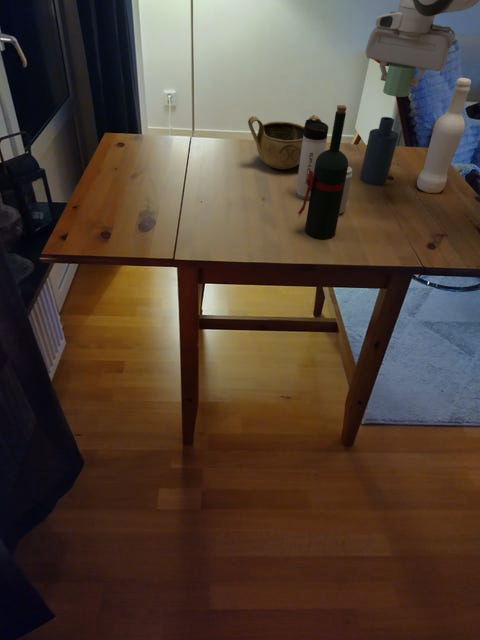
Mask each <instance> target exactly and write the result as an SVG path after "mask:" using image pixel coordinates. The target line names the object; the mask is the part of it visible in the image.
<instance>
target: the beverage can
mask: <svg viewBox="0 0 480 640" xmlns="http://www.w3.org/2000/svg"><path fill="white" fill-rule="evenodd" d="M352 178H353V168H352V167H350V166H349V165H348V170H347V175H346V180H345V186H344V191H343V196H342V201H341V206H340V211H339V215H340V214H341V215H342V214H343V213H344V212H345V211H346V206H347V202H348V197H349V192H350V188H351V183H352Z"/></svg>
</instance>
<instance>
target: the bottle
mask: <svg viewBox="0 0 480 640" xmlns="http://www.w3.org/2000/svg"><path fill="white" fill-rule="evenodd" d="M471 85H472V80H471V79H470V78H466V77H459V78H458V79H457V80H456V85H455V86H454V91H453V93H452V96H451V99H450V102H449V105H448V108H447V111H446V112H445V113H443V114H442V115H440V117H439V118H438V119H437V120H436V122H435V124H434V126H433V129H432V132H431V137H430V140H429V145H428V149H427V153H426V158H425V162H424V165H423V167H422V169H421V170H420V172H419V173H418V175H417V178H416V179H417V180H416V187H417V188H418V189H419V190H420V191H422V192H424V193H428V194H439V193H441V192H442V191H443V190H444V189H445V187H446V184H447V181H448V172H449V170H450V167H451V164H452V161H453V159H454V157H455V155H456V152H457V149H458V147H459V145H460V143H461V140H462V138H463V135H464V133H465V129H466V126H465V125H466V123H465V119H464V117H463V111H464V109H465V108H464V107H465V105H466V101H467V98H468V95H469V92H471Z"/></svg>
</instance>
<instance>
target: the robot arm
mask: <svg viewBox="0 0 480 640" xmlns="http://www.w3.org/2000/svg"><path fill="white" fill-rule="evenodd" d="M479 1H480V0H400V1H399V4H398V8H397V9H398V10H397V11H391V12H388V13H383V14H381V15H379V16H377V17H376V19H375V26H376V27H374V28H373V29H372V31H371V32H370V34H369V37H368V41H367V44H366V47H365V52H364V53H365V57H366V58H367V59H370V60H375V61H379V69H380V72H381V76H380V81H383V82H385V81H386V76H387V72H388V71H387V68H386V66H387V65H388V63H390V64H391V63H396V64H401V65H407V66H412V67H416V69H418V71H417V72H418V75H417V76H416V77H414V78H413V79H412V80H411V84H410V86H411V88H417V86H418V84H419V80H420V79H421V78H422V77H423V75H424V74H426V71H427V70H429V71H434V72H440V71H441V70H443V69H444V68H445V66H446V65H447V62H448V57H449V52H450V48H451V47H453V44H454V41H455V38H456V32H455V31H454V30H453V29H452V27H450V26H443V25H440V24H434V21H435V17H436V16H437V15H441V14H446V13H447V14H448V13H455V12H462V11H466V10H467V9H471V8H473V7H474V6H475V5H476V4H477V3H478V2H479Z"/></svg>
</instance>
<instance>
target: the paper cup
mask: <svg viewBox="0 0 480 640" xmlns="http://www.w3.org/2000/svg"><path fill="white" fill-rule="evenodd" d="M416 70H417V67H412V66H407V65H401V64H396V63H391V62H390V63H389V65H388V68H387V71H386V72H387V76H386V81H384V85H383V90H382V92H383V94H385V95H387V96H391V97H396V98H397V97H398V98H404V97H405V98H406V97H408V96H409V95H410V92H411V89H412V86H410V84H411V80H412V79H413V78H415V74H416Z"/></svg>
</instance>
